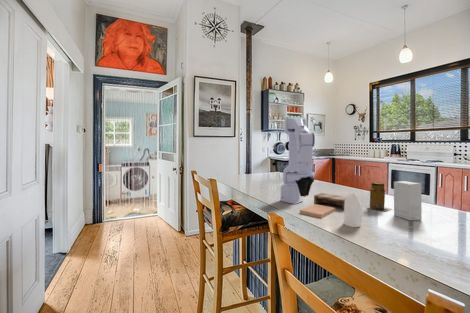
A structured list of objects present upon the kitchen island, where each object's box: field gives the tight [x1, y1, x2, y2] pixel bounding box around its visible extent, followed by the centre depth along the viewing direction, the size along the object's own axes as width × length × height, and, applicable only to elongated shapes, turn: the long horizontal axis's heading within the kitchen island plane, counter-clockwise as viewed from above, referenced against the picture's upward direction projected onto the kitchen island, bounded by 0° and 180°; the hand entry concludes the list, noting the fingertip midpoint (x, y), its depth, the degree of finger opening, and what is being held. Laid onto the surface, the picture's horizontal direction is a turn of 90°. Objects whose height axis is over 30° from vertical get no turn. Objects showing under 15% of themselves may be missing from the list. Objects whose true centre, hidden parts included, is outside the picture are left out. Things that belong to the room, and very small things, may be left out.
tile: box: [299, 203, 336, 219], centre depth 110 cm, size 10×14×2 cm
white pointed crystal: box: [343, 193, 363, 228], centre depth 93 cm, size 6×12×6 cm
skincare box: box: [393, 180, 423, 221], centre depth 101 cm, size 8×6×15 cm
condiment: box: [365, 181, 392, 212], centre depth 115 cm, size 7×8×12 cm
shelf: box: [313, 192, 349, 211], centre depth 121 cm, size 15×8×4 cm, turn 46°
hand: (304, 195), depth 100 cm, fingers closed
